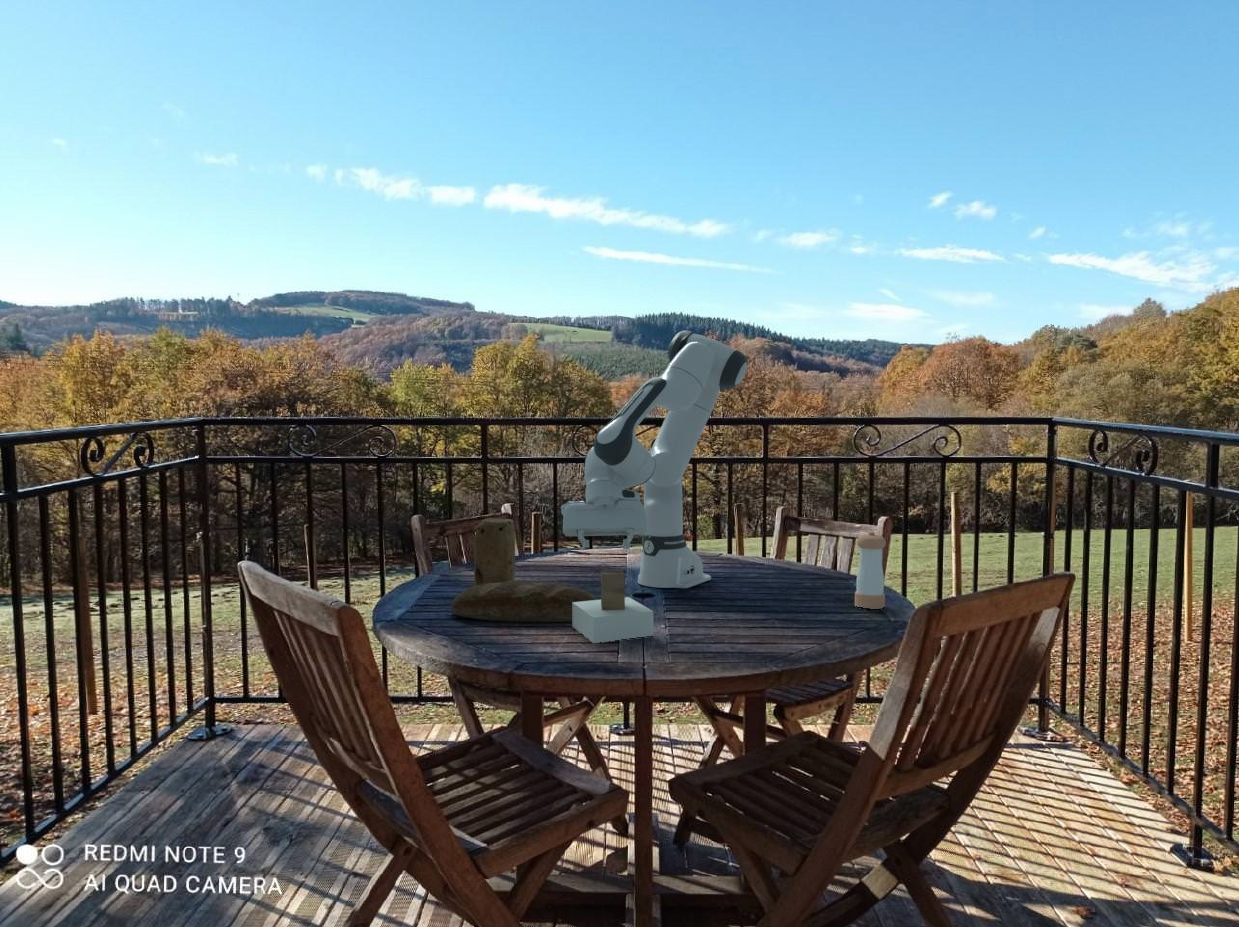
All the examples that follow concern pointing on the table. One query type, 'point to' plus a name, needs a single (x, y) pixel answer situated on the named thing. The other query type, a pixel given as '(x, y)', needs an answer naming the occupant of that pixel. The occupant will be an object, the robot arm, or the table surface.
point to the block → (494, 551)
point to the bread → (519, 602)
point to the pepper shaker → (870, 572)
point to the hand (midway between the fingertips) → (606, 548)
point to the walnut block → (613, 589)
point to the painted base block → (612, 621)
